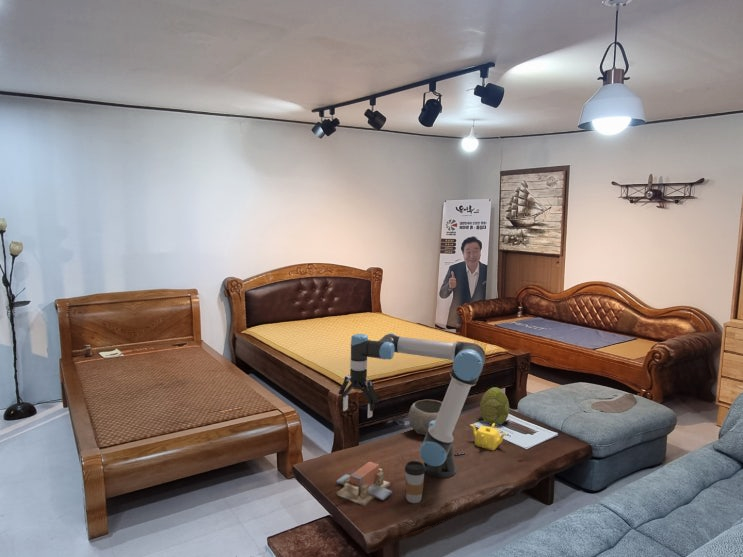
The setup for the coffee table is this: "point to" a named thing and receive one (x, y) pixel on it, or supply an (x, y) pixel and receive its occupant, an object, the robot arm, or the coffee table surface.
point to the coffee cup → (414, 481)
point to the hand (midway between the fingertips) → (357, 413)
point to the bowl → (423, 414)
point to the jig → (364, 489)
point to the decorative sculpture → (494, 406)
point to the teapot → (487, 437)
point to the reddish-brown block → (365, 475)
